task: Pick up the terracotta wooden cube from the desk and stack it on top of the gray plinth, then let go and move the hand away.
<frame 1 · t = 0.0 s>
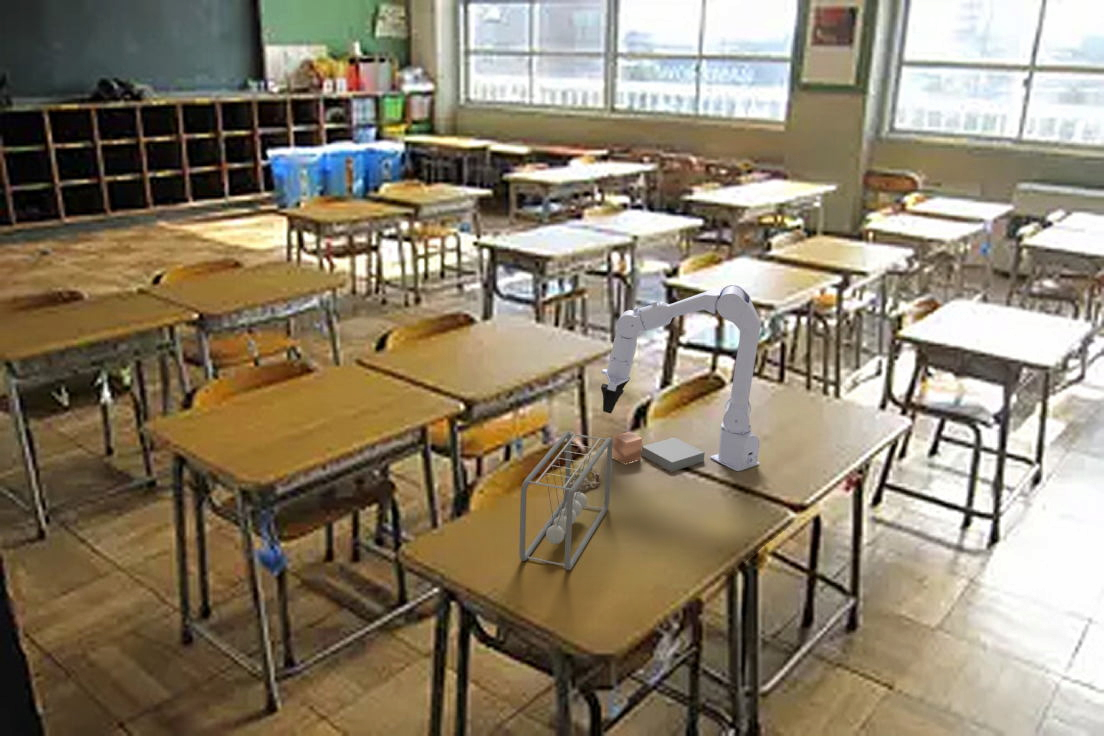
hand: (610, 406, 236), 11 cm above the table, tool pointing down, fingers open, 7 cm apart
terracotta cube: (626, 459, 232), on the table
newton's cradle: (566, 535, 196), on the table
mineral rock: (581, 485, 218), on the table
gray plinth: (672, 458, 233), on the table
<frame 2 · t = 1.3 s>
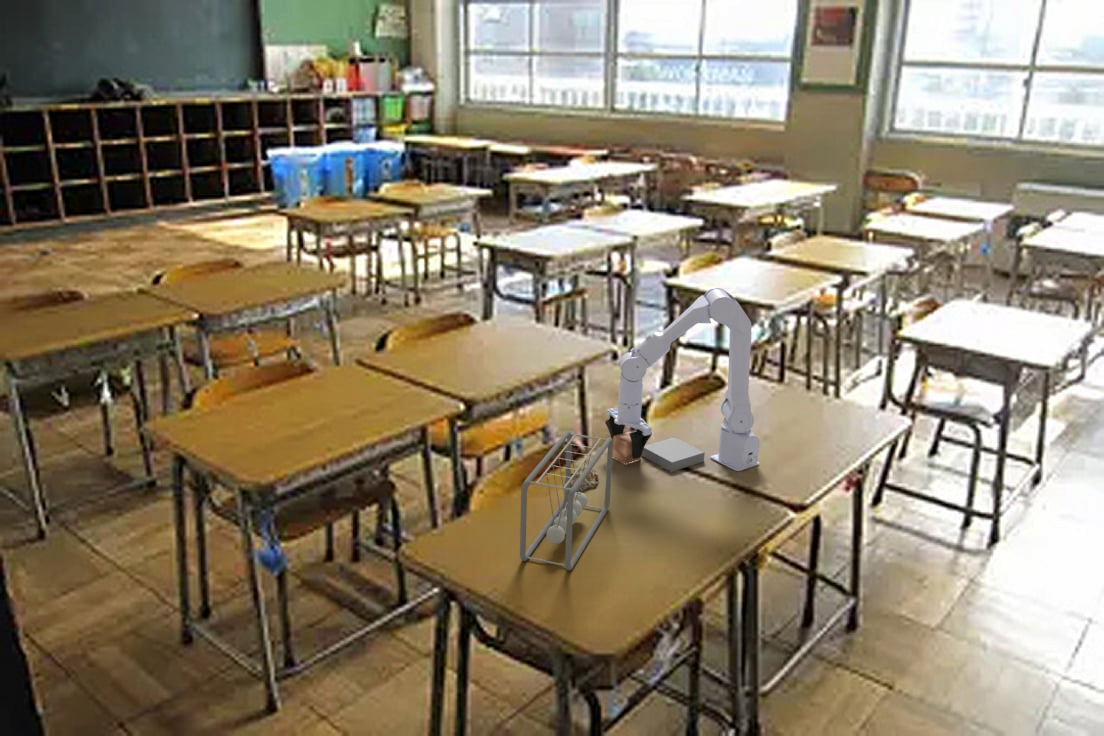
hand: (626, 452, 231), 2 cm above the table, tool pointing down, fingers open, 7 cm apart
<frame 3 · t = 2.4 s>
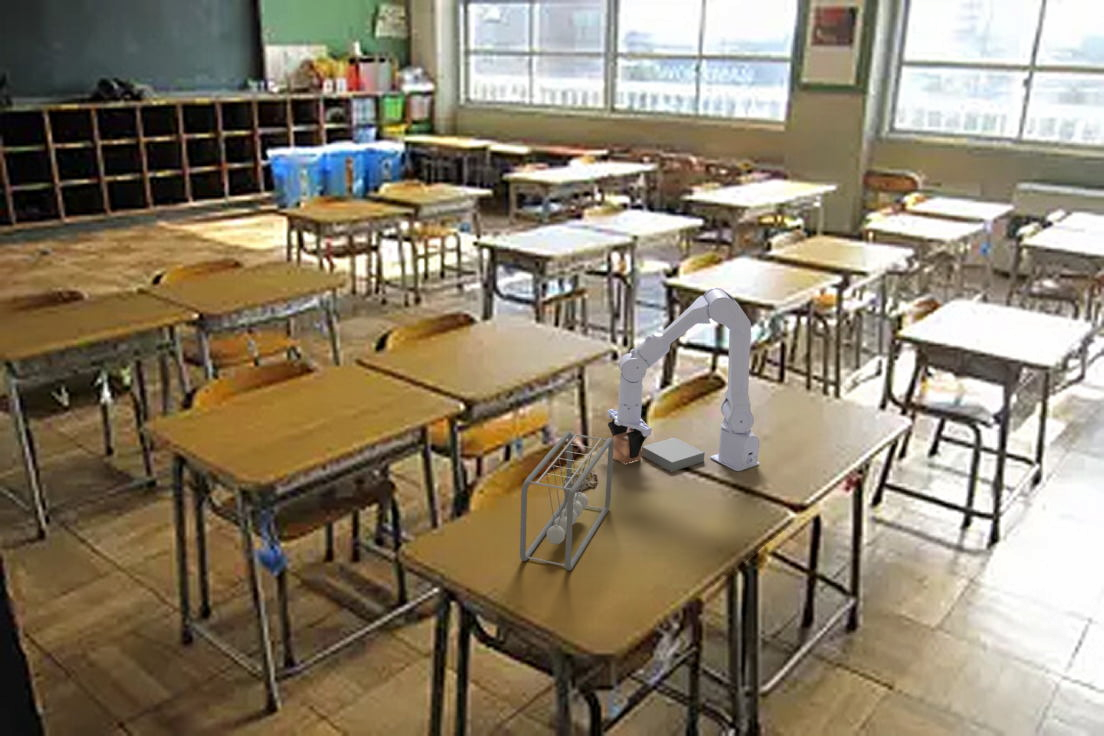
hand: (626, 453, 231), 2 cm above the table, tool pointing down, fingers closed on terracotta cube, 5 cm apart
terracotta cube: (626, 459, 232), on the table, touching gripper
everything else where it was.
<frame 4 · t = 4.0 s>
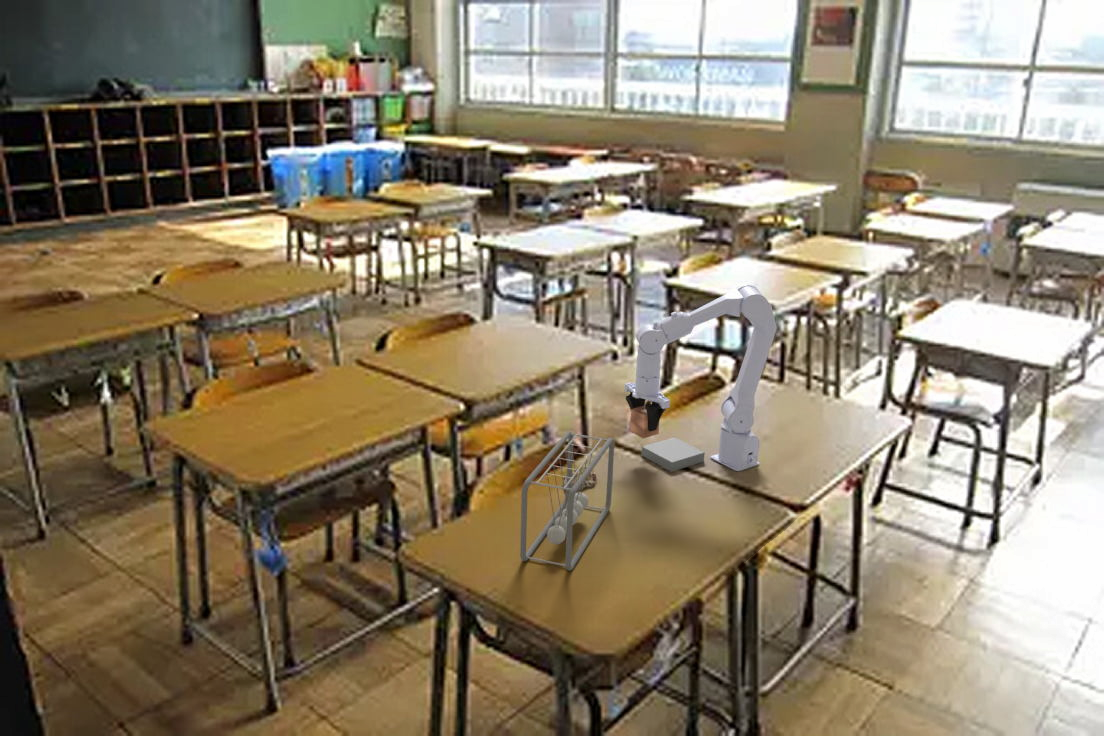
hand: (644, 426, 229), 9 cm above the table, tool pointing down, fingers closed on terracotta cube, 5 cm apart
terracotta cube: (644, 432, 230), point 7 cm above the table, touching gripper
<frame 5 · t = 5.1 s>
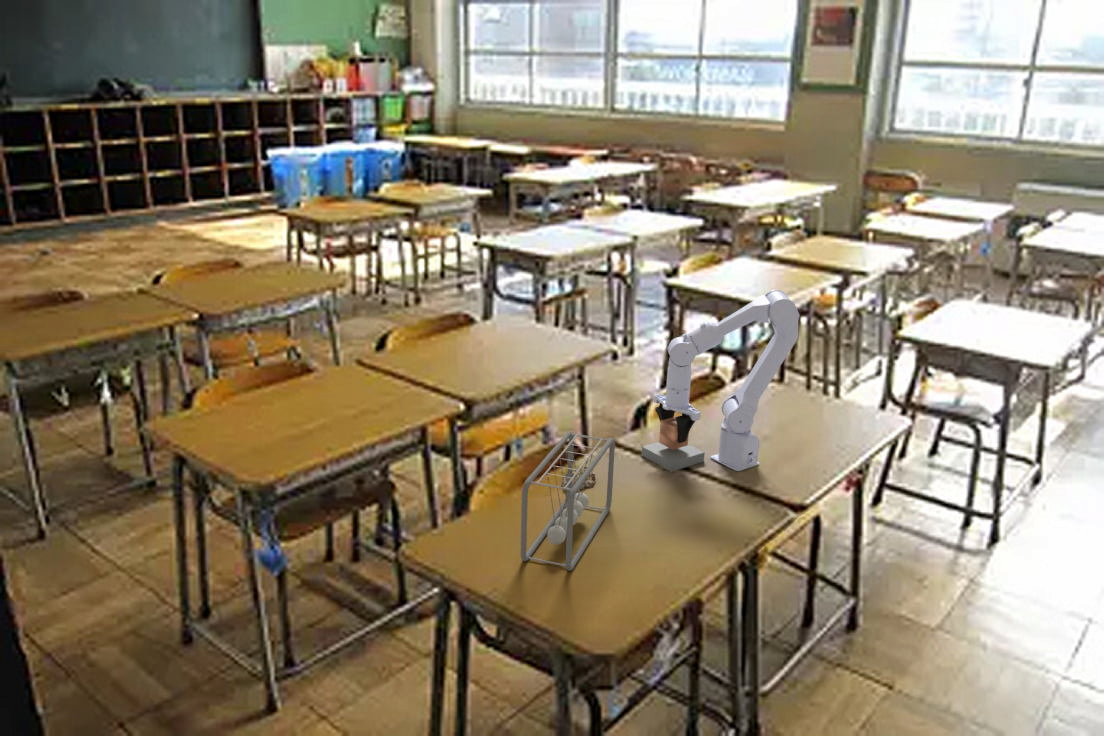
hand: (674, 437, 231), 6 cm above the table, tool pointing down, fingers closed on terracotta cube, 5 cm apart
terracotta cube: (673, 444, 231), point 4 cm above the table, touching gripper
when the fingers open (6 cm above the table, at t = 6.0 s): terracotta cube drops 1 cm, resting on gray plinth.
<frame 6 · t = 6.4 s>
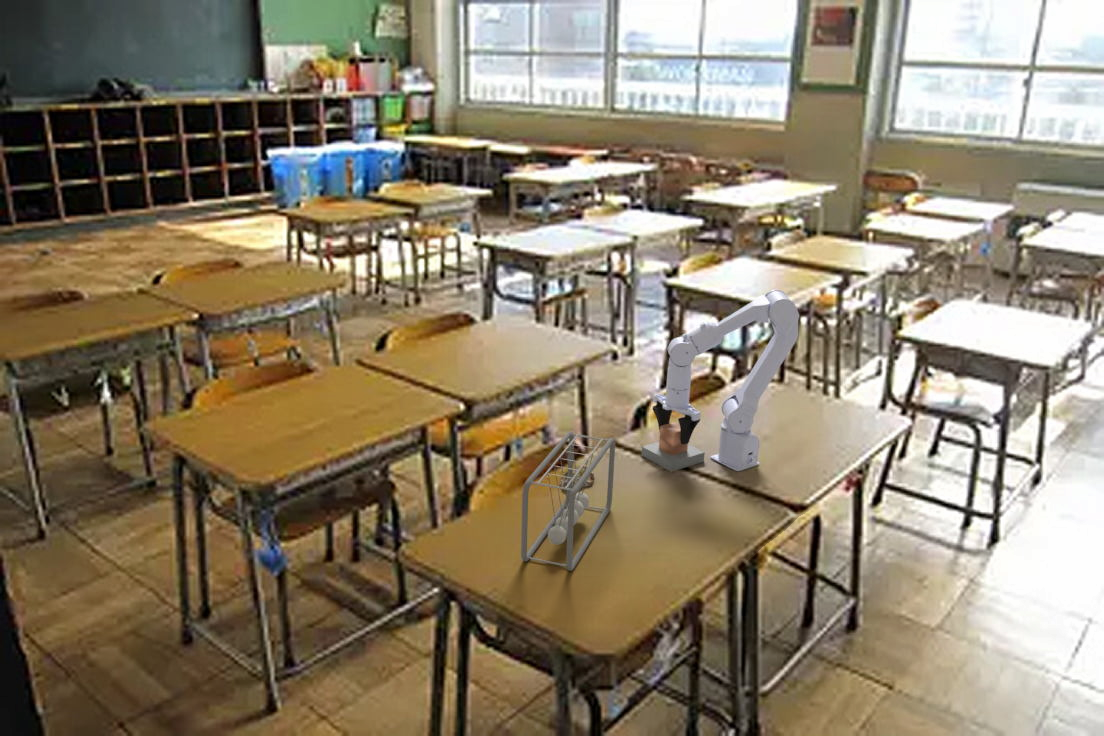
hand: (674, 438, 231), 6 cm above the table, tool pointing down, fingers open, 7 cm apart
terracotta cube: (673, 449, 232), point 2 cm above the table, touching gray plinth
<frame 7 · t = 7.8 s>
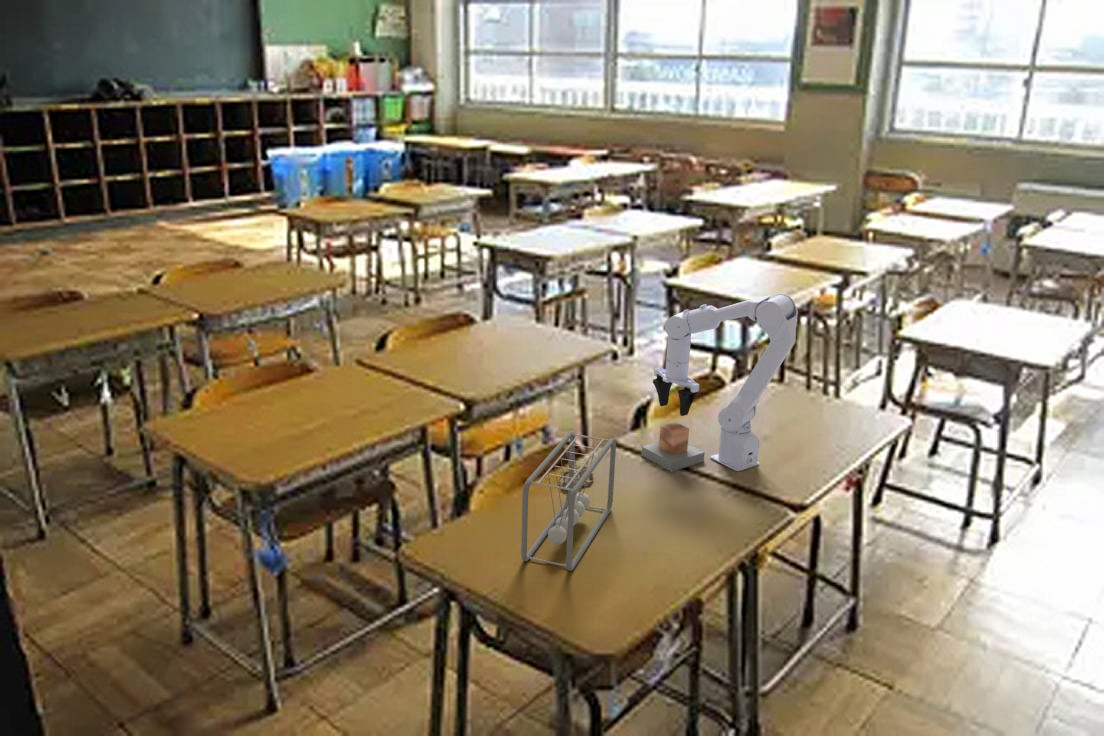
hand: (673, 410, 238), 9 cm above the table, tool pointing down, fingers open, 7 cm apart
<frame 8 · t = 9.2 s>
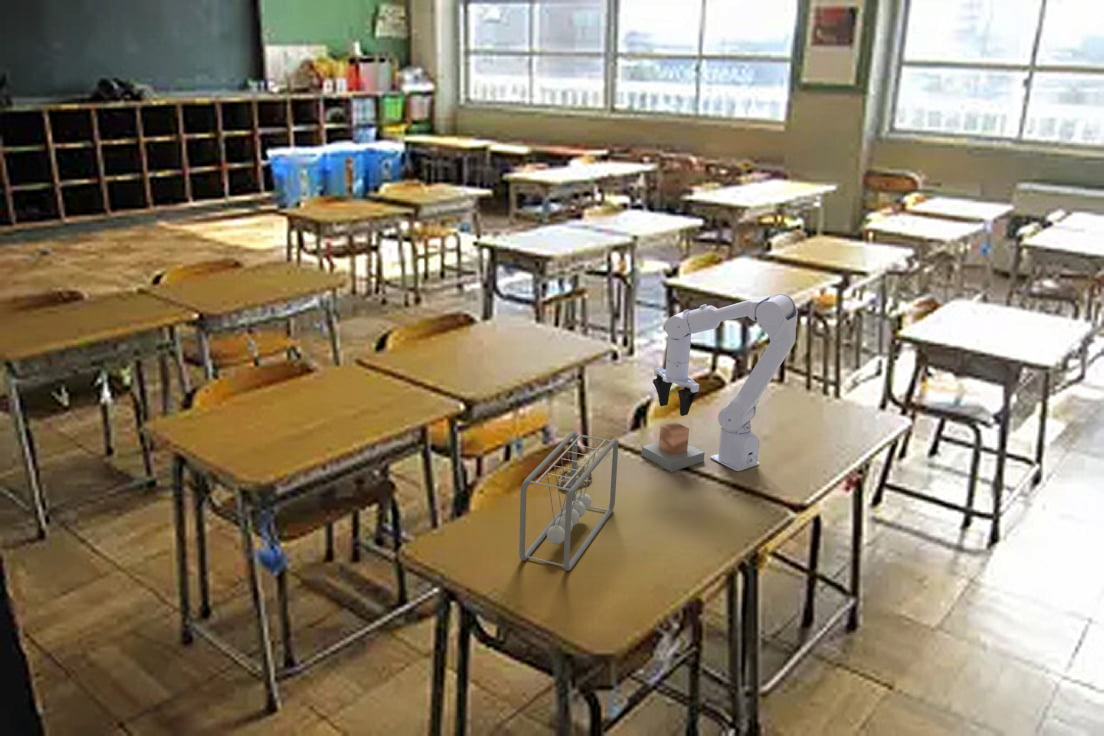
hand: (673, 410, 238), 9 cm above the table, tool pointing down, fingers open, 7 cm apart
at the end: terracotta cube 0.1 cm off-centre on the gray plinth, point 2.5 cm above the gray plinth's base; terracotta cube tilted 0°; the gripper is holding nothing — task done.
